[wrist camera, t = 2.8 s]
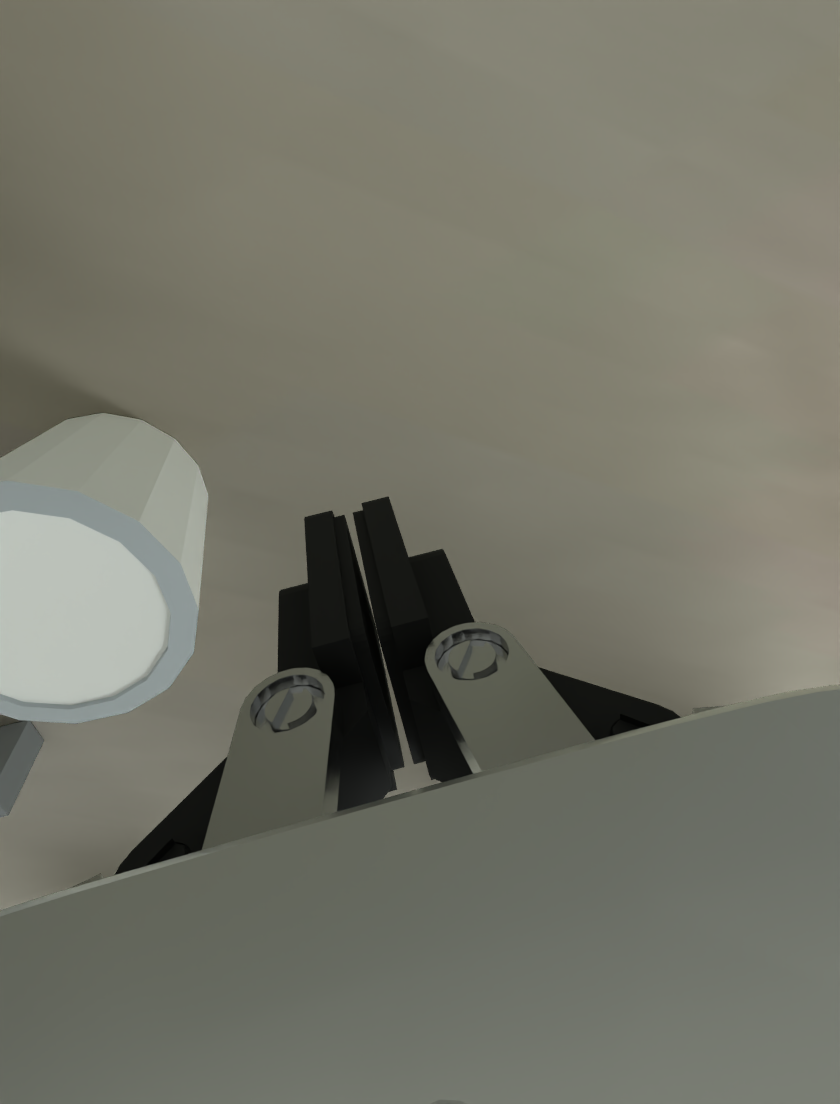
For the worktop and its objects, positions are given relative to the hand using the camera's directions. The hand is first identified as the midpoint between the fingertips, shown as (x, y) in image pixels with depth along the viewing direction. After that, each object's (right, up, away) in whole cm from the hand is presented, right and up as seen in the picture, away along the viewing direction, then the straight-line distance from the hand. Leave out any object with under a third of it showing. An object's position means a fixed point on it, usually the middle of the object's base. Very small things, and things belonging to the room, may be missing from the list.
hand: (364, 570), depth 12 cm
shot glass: (-9, +2, +8) cm, 12 cm away
